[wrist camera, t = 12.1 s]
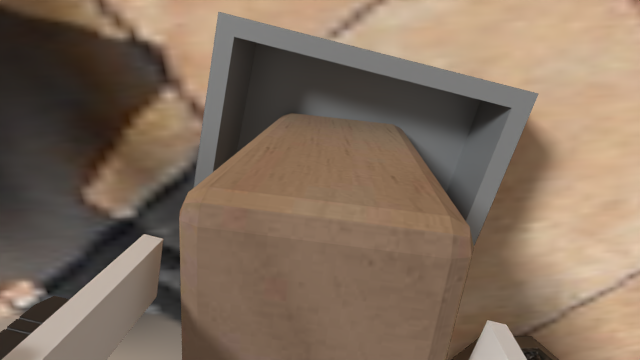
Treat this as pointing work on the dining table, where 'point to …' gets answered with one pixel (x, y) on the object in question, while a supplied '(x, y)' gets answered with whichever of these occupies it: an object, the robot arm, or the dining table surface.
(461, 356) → the bird statue
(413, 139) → the box
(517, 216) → the dining table surface
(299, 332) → the block
